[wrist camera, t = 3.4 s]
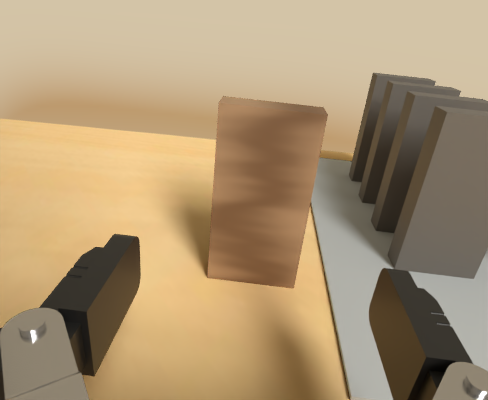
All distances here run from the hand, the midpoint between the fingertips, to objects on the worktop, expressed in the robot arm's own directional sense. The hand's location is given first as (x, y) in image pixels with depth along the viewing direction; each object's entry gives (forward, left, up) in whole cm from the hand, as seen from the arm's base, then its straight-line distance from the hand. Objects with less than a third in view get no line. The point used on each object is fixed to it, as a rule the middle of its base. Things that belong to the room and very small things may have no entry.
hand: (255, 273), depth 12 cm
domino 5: (+12, +11, -6) cm, 17 cm away
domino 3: (+12, +20, -6) cm, 24 cm away
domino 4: (+12, +16, -6) cm, 20 cm away
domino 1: (0, +8, -6) cm, 10 cm away
